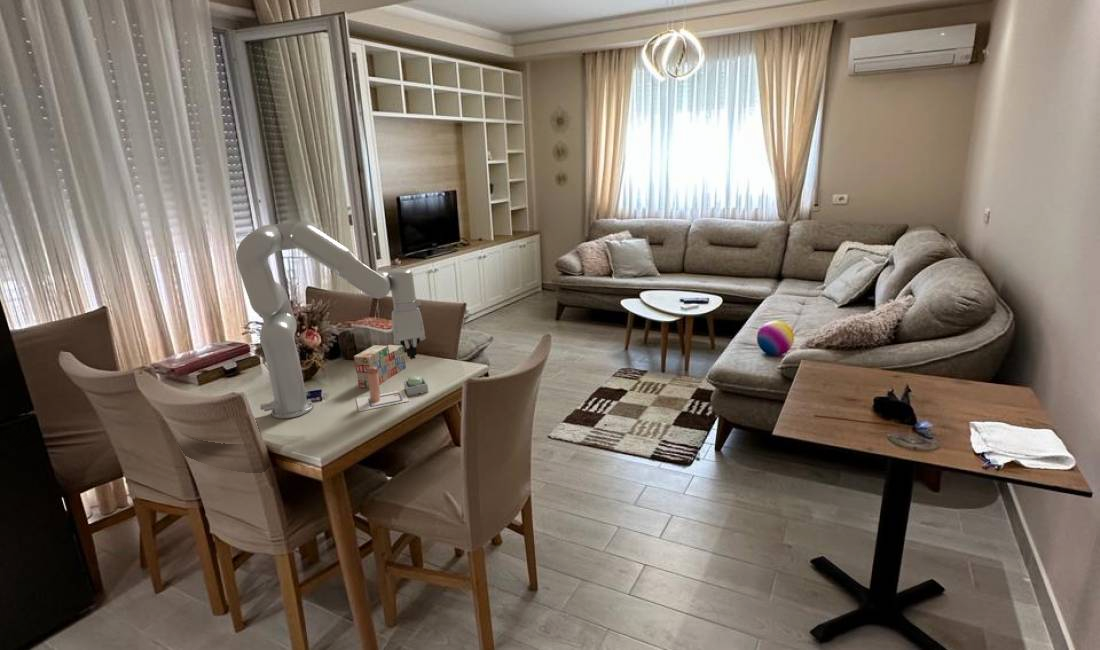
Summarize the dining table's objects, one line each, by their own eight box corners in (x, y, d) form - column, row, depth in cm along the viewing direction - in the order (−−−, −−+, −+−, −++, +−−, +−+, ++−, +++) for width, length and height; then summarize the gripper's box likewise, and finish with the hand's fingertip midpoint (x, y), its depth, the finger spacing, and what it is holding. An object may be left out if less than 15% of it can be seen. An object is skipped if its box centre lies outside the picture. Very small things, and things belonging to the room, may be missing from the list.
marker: (370, 402, 191) (367, 370, 188) (369, 399, 194) (366, 367, 191) (381, 401, 192) (378, 369, 189) (379, 397, 195) (377, 365, 192)
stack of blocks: (392, 367, 226) (388, 337, 222) (406, 368, 224) (402, 338, 220) (358, 388, 206) (353, 355, 203) (373, 389, 204) (368, 356, 201)
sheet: (358, 411, 186) (358, 410, 186) (356, 399, 196) (356, 398, 196) (408, 401, 192) (408, 400, 191) (403, 390, 201) (403, 389, 201)
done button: (410, 390, 197) (409, 381, 196) (407, 385, 201) (406, 377, 201) (424, 387, 199) (423, 379, 198) (421, 382, 203) (420, 374, 202)
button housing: (407, 396, 196) (406, 387, 195) (404, 389, 202) (403, 381, 202) (428, 392, 199) (427, 384, 198) (424, 385, 205) (423, 377, 204)
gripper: (425, 300, 198) (431, 350, 203) (381, 307, 193) (388, 358, 198) (429, 305, 191) (436, 357, 196) (383, 312, 186) (391, 365, 191)
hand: (412, 357), depth 197 cm, fingers closed
